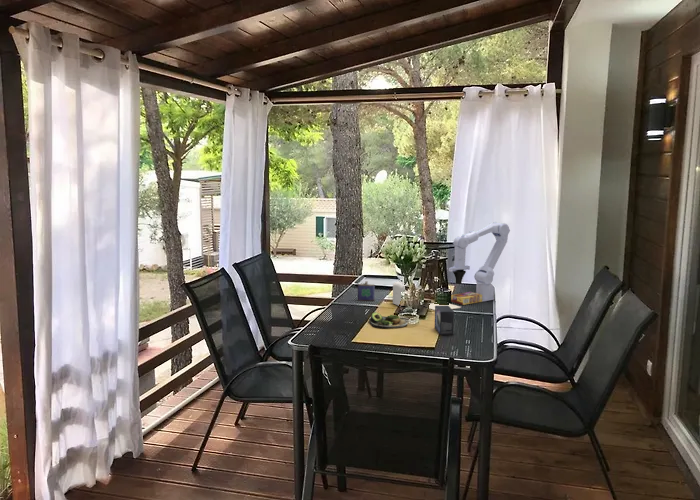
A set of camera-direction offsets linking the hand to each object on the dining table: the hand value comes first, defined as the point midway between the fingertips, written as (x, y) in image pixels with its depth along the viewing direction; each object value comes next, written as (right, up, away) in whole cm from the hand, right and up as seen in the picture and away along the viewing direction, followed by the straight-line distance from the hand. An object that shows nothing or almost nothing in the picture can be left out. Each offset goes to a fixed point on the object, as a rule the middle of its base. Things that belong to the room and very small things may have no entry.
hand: (458, 283), depth 294 cm
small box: (-18, -18, -55) cm, 61 cm away
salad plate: (-42, -16, -44) cm, 63 cm away
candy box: (-2, -9, -4) cm, 10 cm away
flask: (-51, -10, +1) cm, 51 cm away
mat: (-12, -12, -11) cm, 20 cm away
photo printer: (-33, -11, -9) cm, 36 cm away
